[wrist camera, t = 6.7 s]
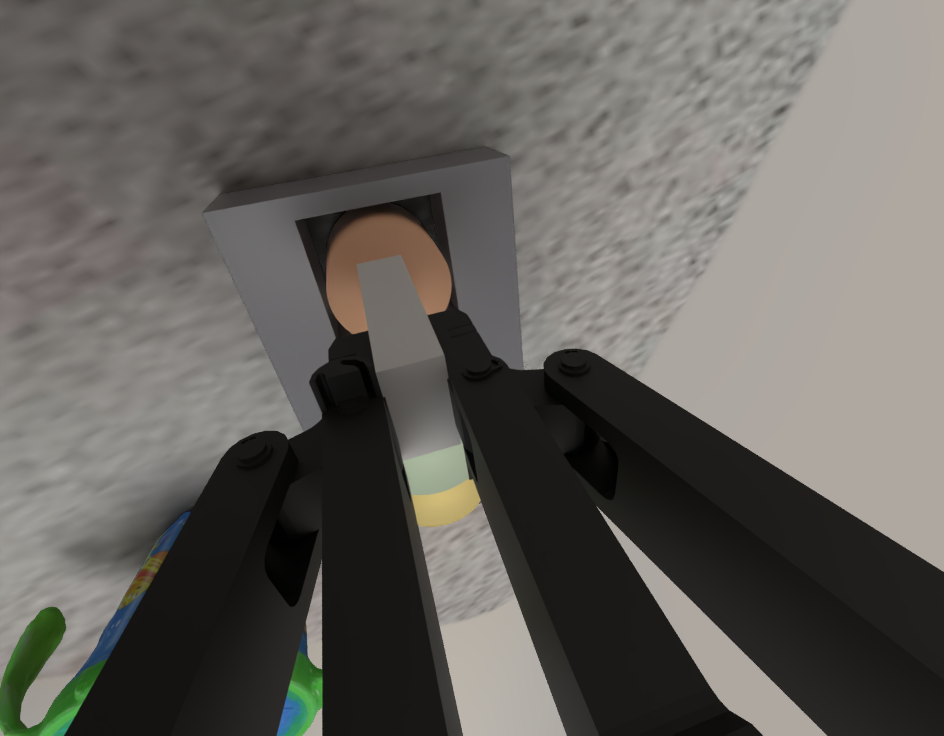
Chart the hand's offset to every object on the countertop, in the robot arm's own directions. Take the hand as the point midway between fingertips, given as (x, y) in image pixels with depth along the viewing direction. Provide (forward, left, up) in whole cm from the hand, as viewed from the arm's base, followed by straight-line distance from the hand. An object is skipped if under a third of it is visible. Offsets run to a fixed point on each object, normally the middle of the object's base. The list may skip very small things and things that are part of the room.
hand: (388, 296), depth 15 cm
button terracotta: (0, 0, -5) cm, 5 cm away
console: (+6, 0, -6) cm, 9 cm away
